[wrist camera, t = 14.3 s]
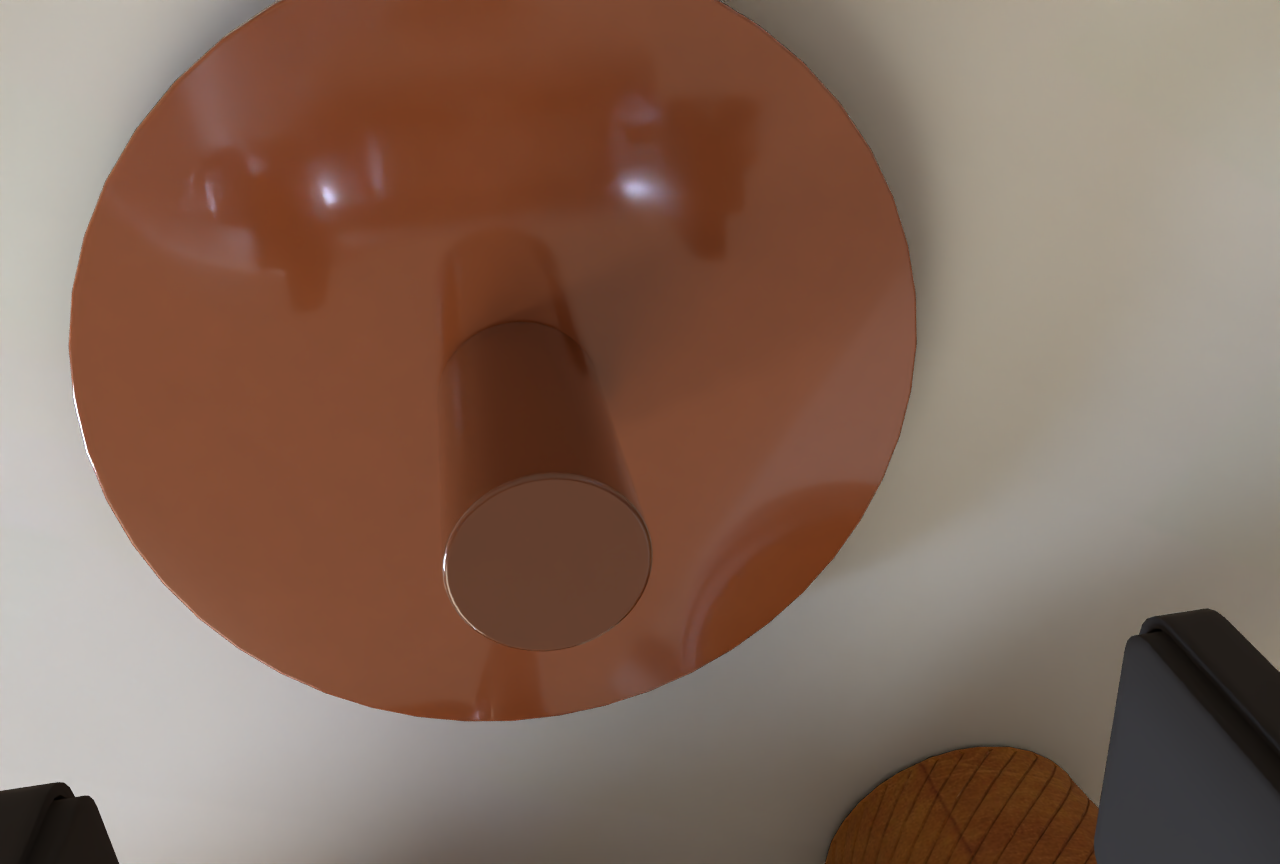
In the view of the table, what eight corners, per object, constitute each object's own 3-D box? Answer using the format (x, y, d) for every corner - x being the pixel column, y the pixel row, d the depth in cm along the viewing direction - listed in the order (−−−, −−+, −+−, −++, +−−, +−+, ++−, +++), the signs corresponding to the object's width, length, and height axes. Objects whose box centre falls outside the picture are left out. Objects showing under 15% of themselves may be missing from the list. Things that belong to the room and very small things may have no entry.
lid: (202, 735, 22) (131, 1026, 17) (-37, -19, 16) (-276, 55, 10) (882, 626, 23) (1018, 859, 18) (910, -99, 17) (1131, -70, 12)
